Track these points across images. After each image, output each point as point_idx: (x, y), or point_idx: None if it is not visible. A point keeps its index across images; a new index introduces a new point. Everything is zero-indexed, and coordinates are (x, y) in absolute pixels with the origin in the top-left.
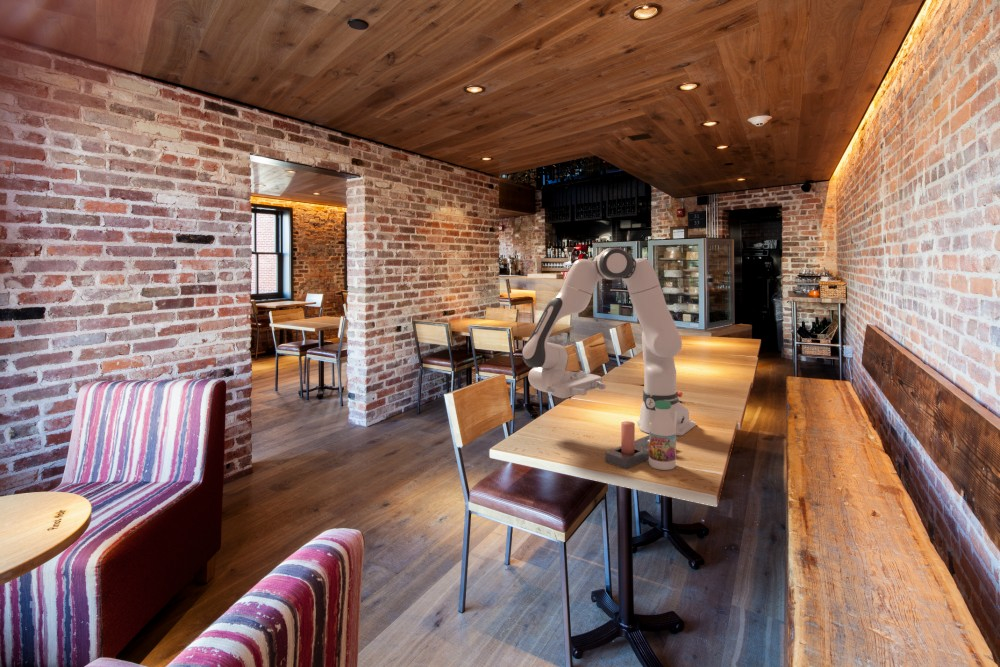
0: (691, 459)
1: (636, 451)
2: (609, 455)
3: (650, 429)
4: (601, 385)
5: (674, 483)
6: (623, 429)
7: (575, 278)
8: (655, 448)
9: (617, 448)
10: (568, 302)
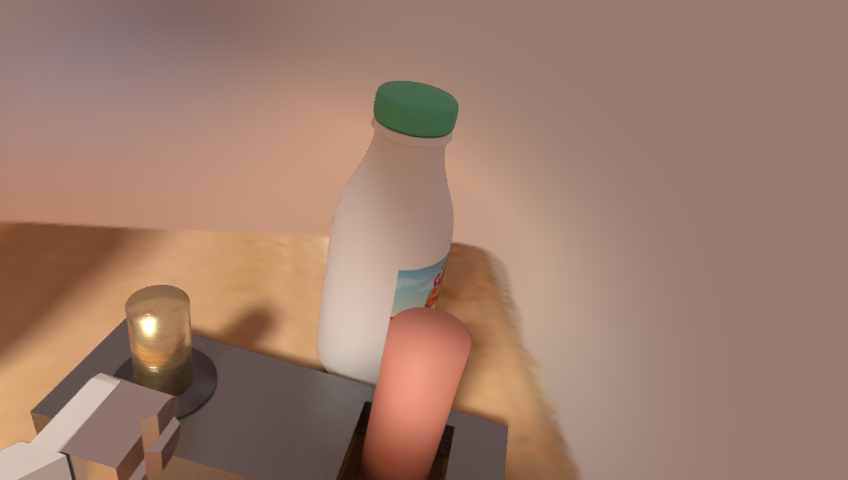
0: (250, 288)
1: (356, 427)
2: None
3: (435, 252)
4: (163, 420)
5: (486, 306)
6: (462, 372)
7: None
8: (437, 298)
9: None
10: None
